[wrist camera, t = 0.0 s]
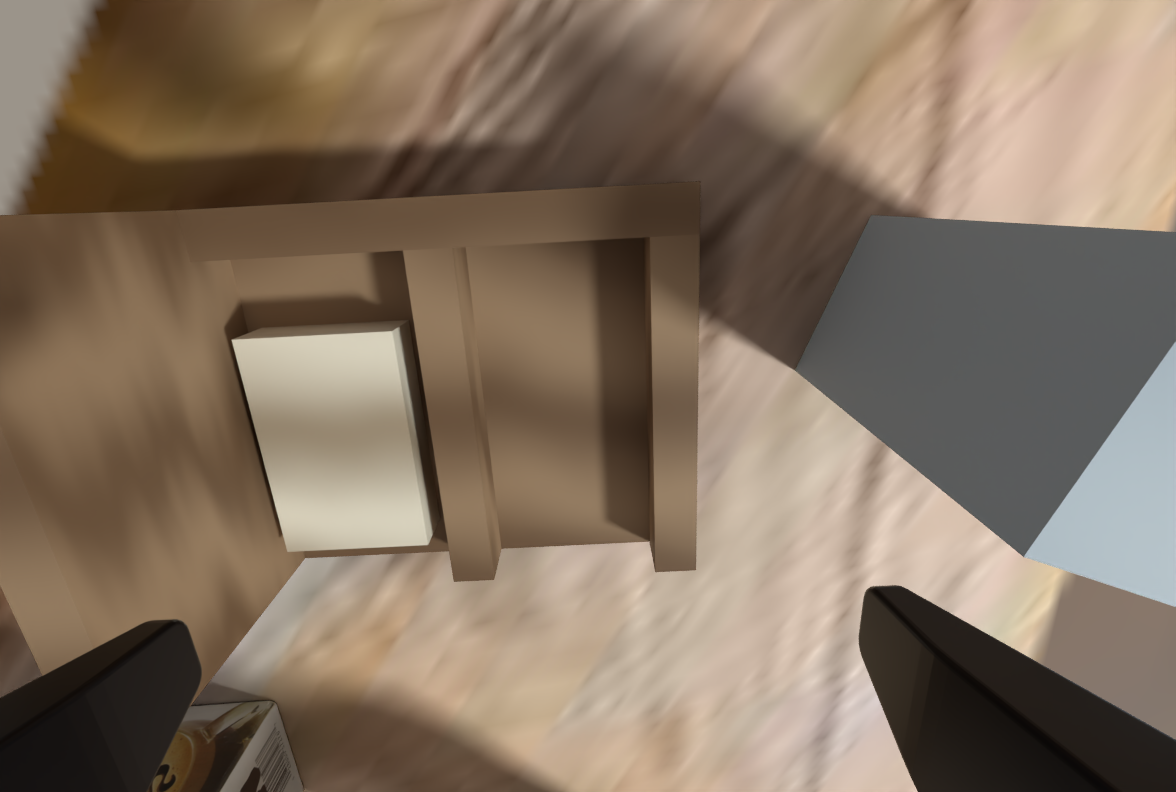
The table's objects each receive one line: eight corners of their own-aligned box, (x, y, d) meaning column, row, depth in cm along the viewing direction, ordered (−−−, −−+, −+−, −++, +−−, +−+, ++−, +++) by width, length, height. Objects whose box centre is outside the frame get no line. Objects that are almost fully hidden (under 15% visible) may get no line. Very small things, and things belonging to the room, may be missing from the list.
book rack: (682, 525, 24) (746, 739, 14) (280, 545, 24) (85, 768, 15) (683, 183, 20) (776, 170, 10) (191, 210, 20) (-170, 222, 10)
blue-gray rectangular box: (898, 406, 22) (1223, 622, 11) (794, 370, 22) (1023, 556, 10) (982, 258, 20) (1477, 334, 9) (871, 214, 20) (1250, 236, 9)
